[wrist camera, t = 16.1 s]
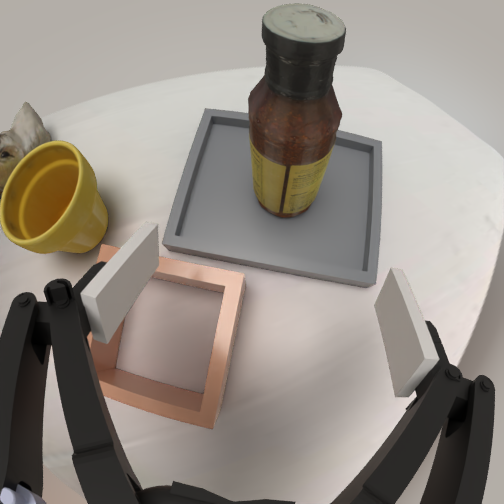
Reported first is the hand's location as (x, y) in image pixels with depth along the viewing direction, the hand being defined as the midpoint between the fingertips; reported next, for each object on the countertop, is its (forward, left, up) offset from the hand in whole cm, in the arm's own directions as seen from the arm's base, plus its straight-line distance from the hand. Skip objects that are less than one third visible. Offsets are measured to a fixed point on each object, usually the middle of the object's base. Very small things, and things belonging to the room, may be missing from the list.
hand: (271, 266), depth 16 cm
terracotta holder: (-8, -6, -13) cm, 16 cm away
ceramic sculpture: (-35, +9, -13) cm, 38 cm away
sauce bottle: (0, +10, -12) cm, 16 cm away
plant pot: (-21, +3, -13) cm, 25 cm away
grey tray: (0, +10, -13) cm, 16 cm away
